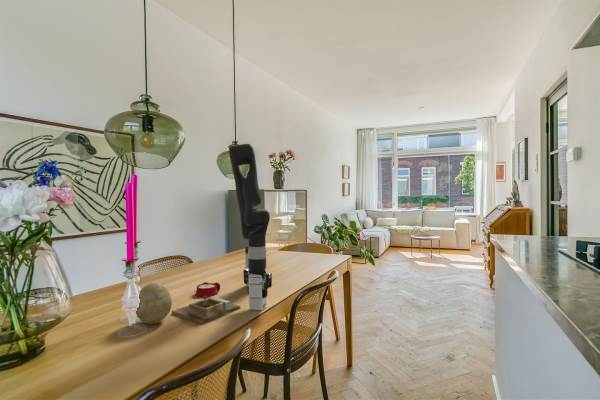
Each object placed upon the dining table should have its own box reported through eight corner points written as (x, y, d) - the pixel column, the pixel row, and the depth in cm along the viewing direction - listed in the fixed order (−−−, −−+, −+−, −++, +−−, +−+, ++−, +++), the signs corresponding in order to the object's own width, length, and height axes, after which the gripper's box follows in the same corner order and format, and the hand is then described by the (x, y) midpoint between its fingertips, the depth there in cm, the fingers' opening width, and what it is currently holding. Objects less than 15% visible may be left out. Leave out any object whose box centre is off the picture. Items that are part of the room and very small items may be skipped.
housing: (211, 300, 149) (211, 289, 149) (240, 308, 139) (240, 297, 139) (171, 313, 133) (171, 302, 133) (201, 324, 123) (200, 311, 123)
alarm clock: (190, 290, 154) (203, 275, 168) (191, 302, 155) (204, 286, 170) (212, 290, 153) (222, 275, 167) (213, 302, 154) (224, 286, 169)
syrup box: (262, 310, 136) (262, 275, 135) (248, 309, 137) (248, 274, 136) (266, 305, 141) (266, 271, 141) (253, 304, 142) (253, 271, 142)
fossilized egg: (177, 322, 124) (177, 282, 124) (142, 332, 116) (141, 289, 115) (163, 313, 134) (163, 276, 133) (129, 322, 125) (129, 282, 124)
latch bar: (213, 304, 140) (213, 296, 140) (230, 308, 135) (230, 301, 134) (209, 305, 138) (209, 298, 138) (225, 310, 133) (225, 302, 132)
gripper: (238, 256, 139) (238, 295, 140) (264, 260, 131) (264, 301, 132) (250, 253, 145) (251, 291, 146) (276, 257, 137) (276, 296, 138)
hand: (257, 296), depth 139 cm, fingers closed on syrup box, 7 cm apart
